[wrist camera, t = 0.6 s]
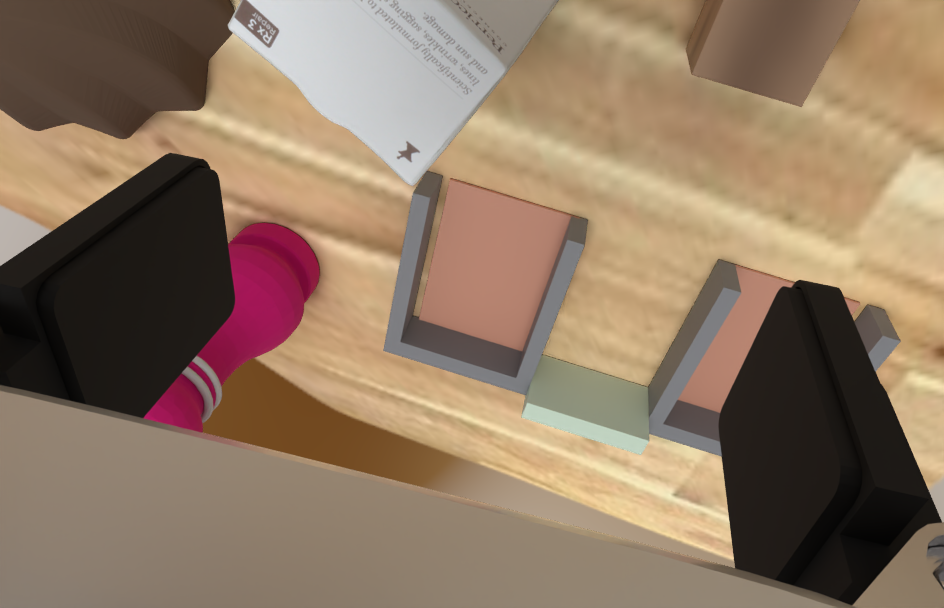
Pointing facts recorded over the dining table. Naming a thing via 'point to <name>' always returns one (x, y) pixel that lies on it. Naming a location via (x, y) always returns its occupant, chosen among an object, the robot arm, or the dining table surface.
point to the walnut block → (767, 44)
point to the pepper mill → (245, 319)
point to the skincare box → (393, 63)
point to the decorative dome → (106, 60)
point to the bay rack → (535, 310)
